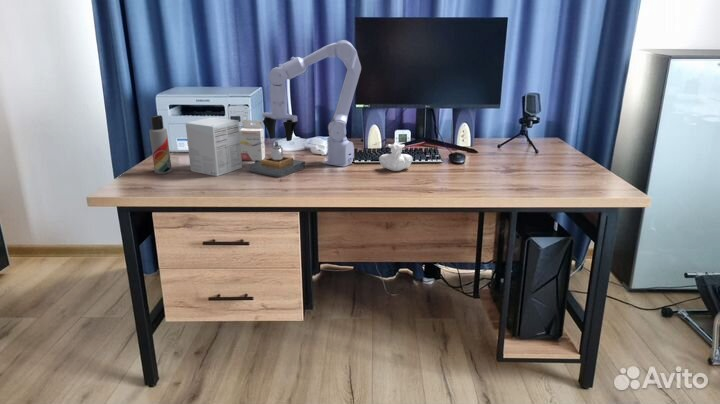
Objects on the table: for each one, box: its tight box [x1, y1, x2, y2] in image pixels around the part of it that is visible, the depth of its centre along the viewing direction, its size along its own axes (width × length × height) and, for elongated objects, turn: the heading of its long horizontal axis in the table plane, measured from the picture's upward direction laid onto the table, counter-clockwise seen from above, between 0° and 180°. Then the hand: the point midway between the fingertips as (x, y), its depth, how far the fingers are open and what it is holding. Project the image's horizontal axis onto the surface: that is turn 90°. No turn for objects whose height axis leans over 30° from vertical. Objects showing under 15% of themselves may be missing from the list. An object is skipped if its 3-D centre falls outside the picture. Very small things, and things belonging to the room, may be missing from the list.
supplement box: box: [185, 116, 243, 177], centre depth 190 cm, size 13×13×18 cm
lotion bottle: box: [148, 114, 172, 175], centre depth 186 cm, size 6×6×20 cm
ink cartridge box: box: [239, 119, 266, 162], centre depth 204 cm, size 9×5×15 cm, turn 84°
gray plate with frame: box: [248, 156, 306, 178], centre depth 192 cm, size 17×14×4 cm
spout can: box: [270, 141, 284, 162], centre depth 191 cm, size 4×4×10 cm
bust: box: [378, 142, 414, 172], centre depth 190 cm, size 12×8×11 cm
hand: (280, 139), depth 196 cm, fingers open, 7 cm apart
